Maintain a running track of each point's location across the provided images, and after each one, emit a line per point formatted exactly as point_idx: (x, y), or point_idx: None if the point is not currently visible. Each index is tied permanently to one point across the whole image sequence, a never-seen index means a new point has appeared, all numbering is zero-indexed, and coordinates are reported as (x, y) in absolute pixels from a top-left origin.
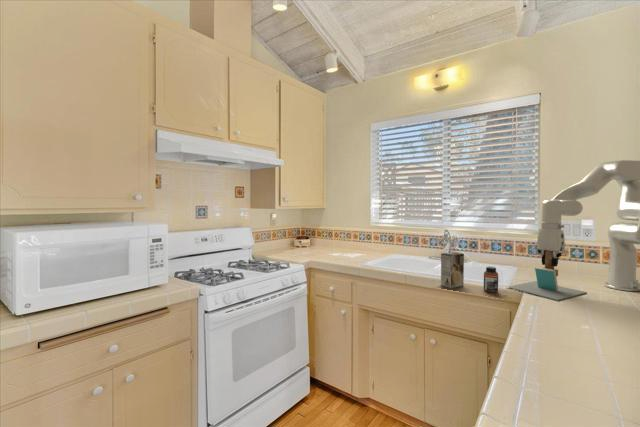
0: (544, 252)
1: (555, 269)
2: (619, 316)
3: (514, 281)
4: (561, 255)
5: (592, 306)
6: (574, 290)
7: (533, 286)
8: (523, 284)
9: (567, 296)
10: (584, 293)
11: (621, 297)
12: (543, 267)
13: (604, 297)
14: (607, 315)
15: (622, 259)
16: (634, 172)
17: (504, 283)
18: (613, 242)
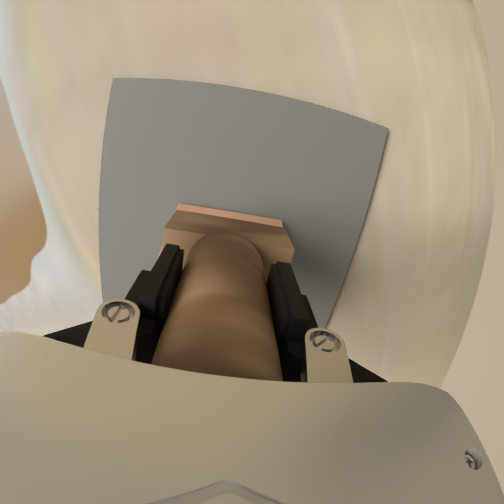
0: (105, 349)
1: (273, 257)
2: (439, 351)
3: (50, 173)
4: (373, 376)
5: (402, 325)
6: (340, 137)
7: (158, 229)
8: (110, 228)
9: (334, 293)
10: (381, 149)
11: (473, 103)
12: (164, 246)
13: (440, 152)
14: (419, 366)
15: None
16: None
17: (54, 257)
18: None
